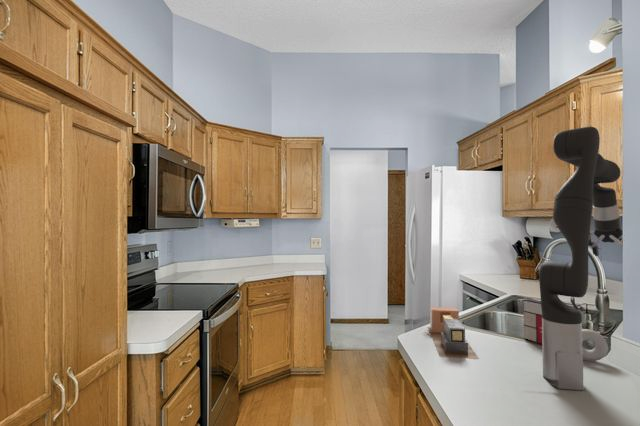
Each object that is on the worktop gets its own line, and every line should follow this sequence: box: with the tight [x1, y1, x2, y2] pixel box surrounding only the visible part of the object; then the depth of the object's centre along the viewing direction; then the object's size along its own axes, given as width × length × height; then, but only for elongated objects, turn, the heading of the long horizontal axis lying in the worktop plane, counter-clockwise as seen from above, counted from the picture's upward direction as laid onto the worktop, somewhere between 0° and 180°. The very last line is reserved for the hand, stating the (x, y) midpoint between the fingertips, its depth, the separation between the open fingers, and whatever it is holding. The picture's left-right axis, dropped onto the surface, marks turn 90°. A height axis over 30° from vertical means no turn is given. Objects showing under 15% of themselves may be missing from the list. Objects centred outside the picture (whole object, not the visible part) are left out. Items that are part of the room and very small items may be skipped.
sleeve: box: [441, 319, 469, 354], centre depth 125 cm, size 12×7×8 cm, turn 170°
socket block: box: [429, 306, 460, 333], centre depth 144 cm, size 5×10×9 cm, turn 80°
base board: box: [427, 326, 480, 360], centre depth 132 cm, size 33×12×1 cm, turn 170°
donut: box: [582, 328, 609, 362], centre depth 116 cm, size 10×3×10 cm, turn 56°
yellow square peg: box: [443, 315, 462, 341], centre depth 129 cm, size 20×3×3 cm, turn 170°
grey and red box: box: [523, 298, 542, 345], centre depth 134 cm, size 11×4×15 cm, turn 25°
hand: (610, 256), depth 138 cm, fingers open, 8 cm apart
